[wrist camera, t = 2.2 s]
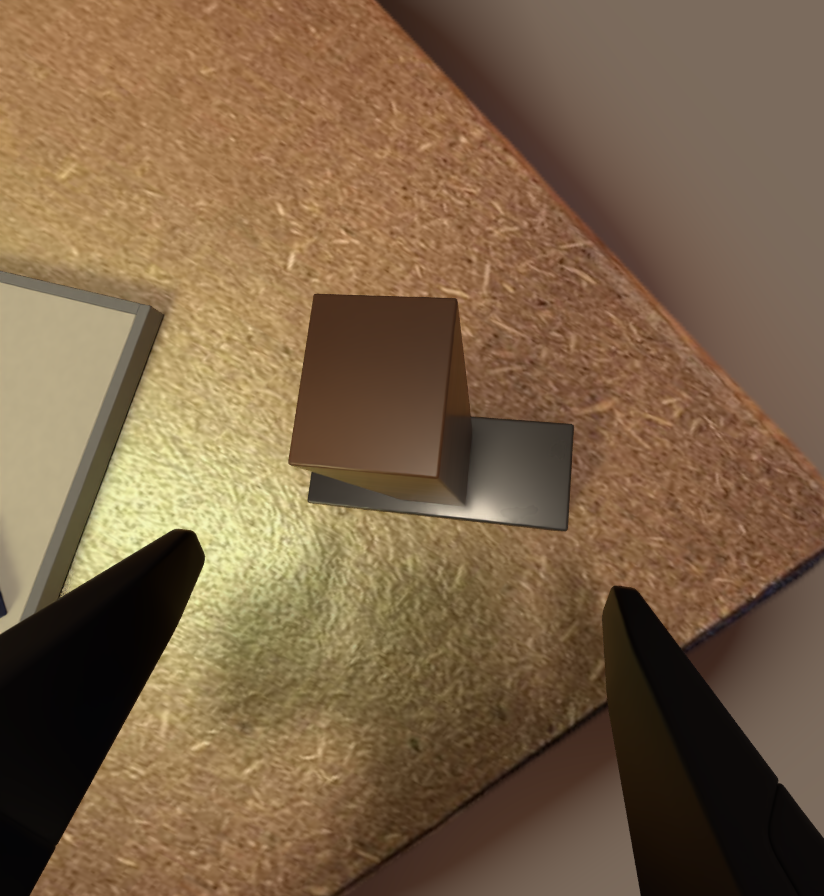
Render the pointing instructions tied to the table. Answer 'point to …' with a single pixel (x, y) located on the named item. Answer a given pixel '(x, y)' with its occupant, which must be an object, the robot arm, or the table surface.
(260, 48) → the table surface
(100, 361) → the whiteboard
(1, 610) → the dark blue domino
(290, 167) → the table surface
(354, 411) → the brown rubber stamp
